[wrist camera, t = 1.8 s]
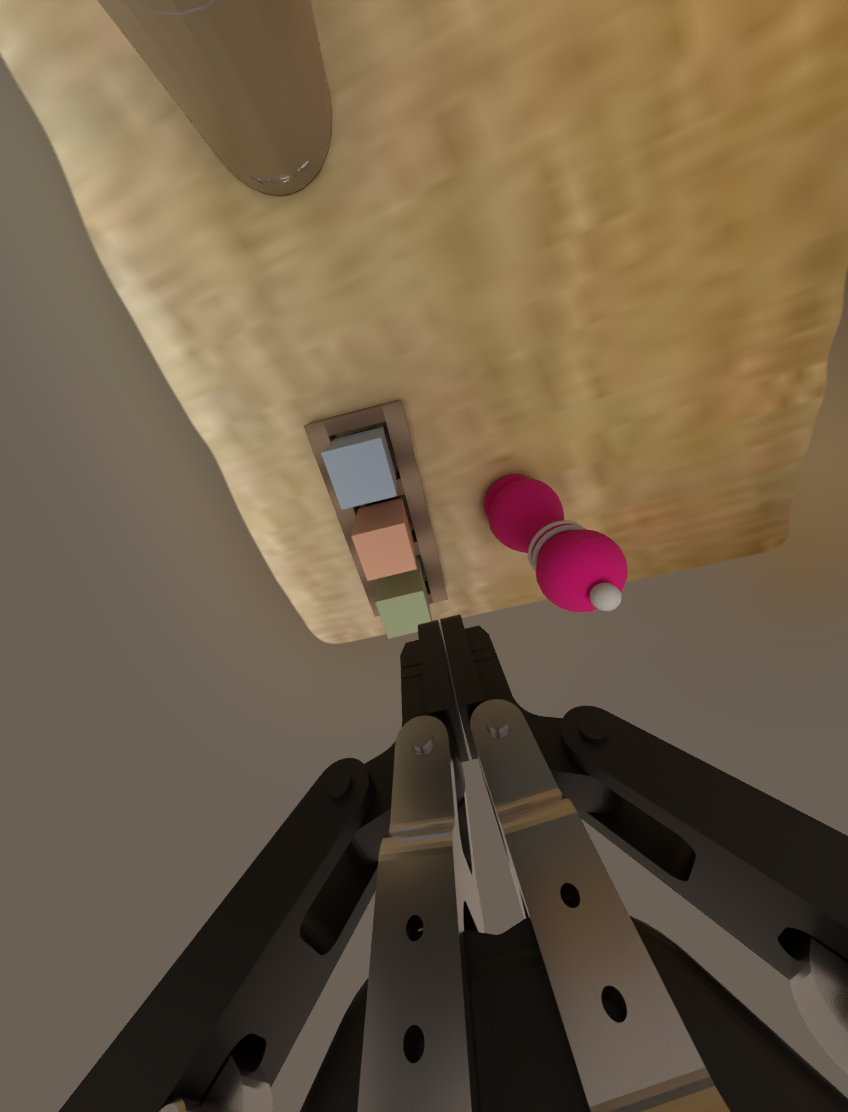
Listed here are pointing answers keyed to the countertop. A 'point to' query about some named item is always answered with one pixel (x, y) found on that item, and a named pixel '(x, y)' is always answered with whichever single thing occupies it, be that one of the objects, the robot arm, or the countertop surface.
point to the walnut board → (406, 484)
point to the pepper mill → (556, 545)
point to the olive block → (403, 602)
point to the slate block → (360, 468)
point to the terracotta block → (384, 539)
